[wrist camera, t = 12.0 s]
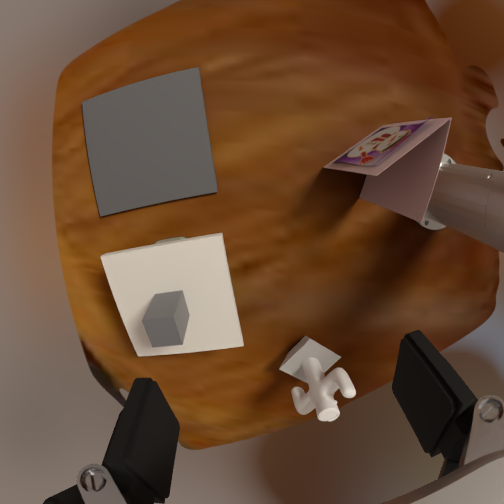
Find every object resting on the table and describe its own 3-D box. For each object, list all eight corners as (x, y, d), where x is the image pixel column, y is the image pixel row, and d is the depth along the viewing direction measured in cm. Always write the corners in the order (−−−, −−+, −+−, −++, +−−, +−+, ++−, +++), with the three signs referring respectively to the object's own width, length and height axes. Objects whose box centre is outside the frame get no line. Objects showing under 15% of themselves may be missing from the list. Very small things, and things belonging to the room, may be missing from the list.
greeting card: (379, 120, 34) (447, 110, 20) (403, 163, 36) (474, 173, 22) (319, 162, 35) (371, 167, 21) (348, 206, 38) (406, 235, 23)
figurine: (271, 358, 45) (285, 428, 31) (309, 320, 43) (338, 386, 29) (302, 374, 47) (321, 439, 33) (339, 339, 45) (372, 401, 31)
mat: (198, 68, 30) (198, 67, 30) (218, 191, 36) (217, 191, 35) (83, 102, 30) (82, 102, 30) (101, 215, 36) (100, 216, 35)
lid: (222, 232, 31) (219, 253, 25) (243, 341, 36) (245, 377, 30) (103, 253, 31) (77, 276, 25) (139, 352, 36) (126, 385, 30)
